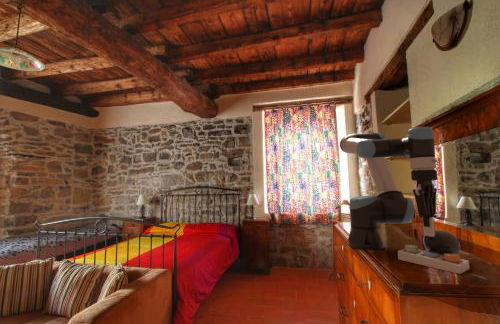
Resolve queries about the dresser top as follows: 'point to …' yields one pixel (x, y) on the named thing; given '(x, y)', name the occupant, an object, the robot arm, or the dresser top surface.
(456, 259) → the orange button
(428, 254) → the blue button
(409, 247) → the green button
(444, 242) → the dark glossy ovoid
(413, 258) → the button panel
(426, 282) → the dresser top surface
